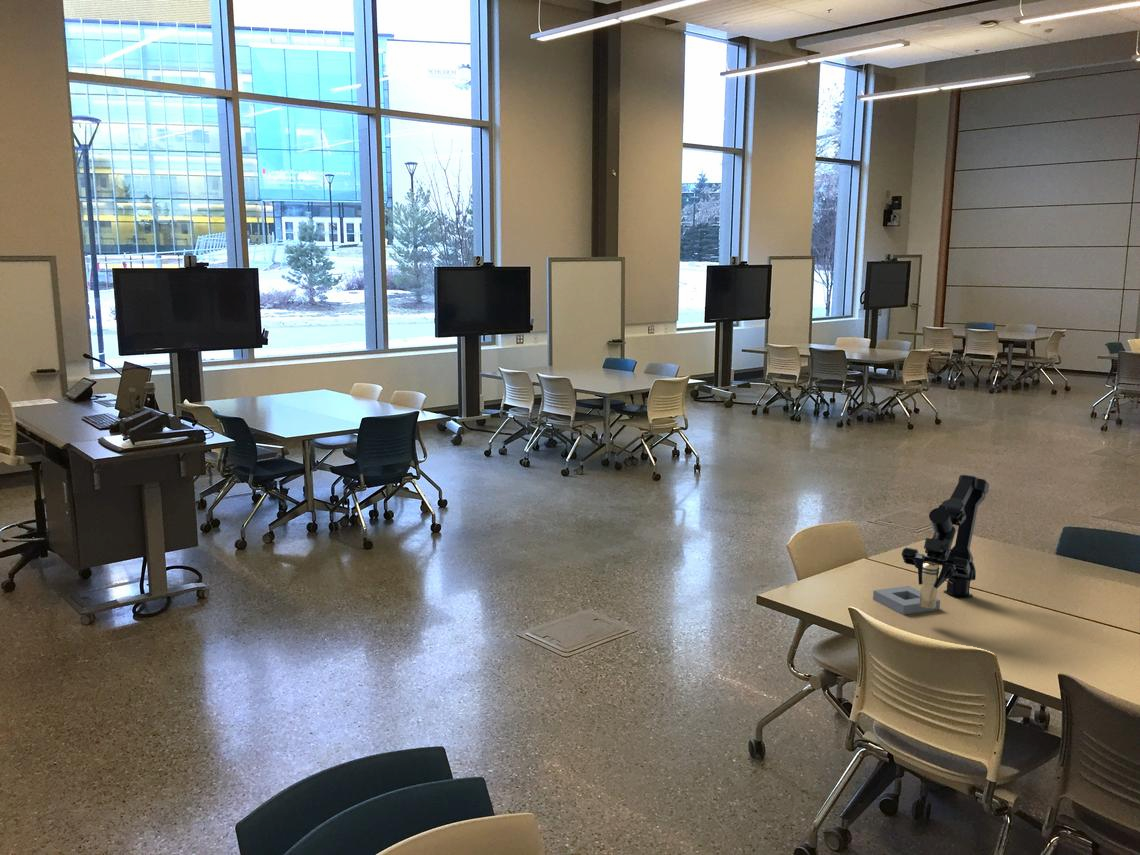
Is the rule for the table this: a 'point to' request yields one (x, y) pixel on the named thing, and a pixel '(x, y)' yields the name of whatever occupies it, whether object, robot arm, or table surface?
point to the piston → (929, 584)
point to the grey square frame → (902, 599)
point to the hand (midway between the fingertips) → (927, 585)
